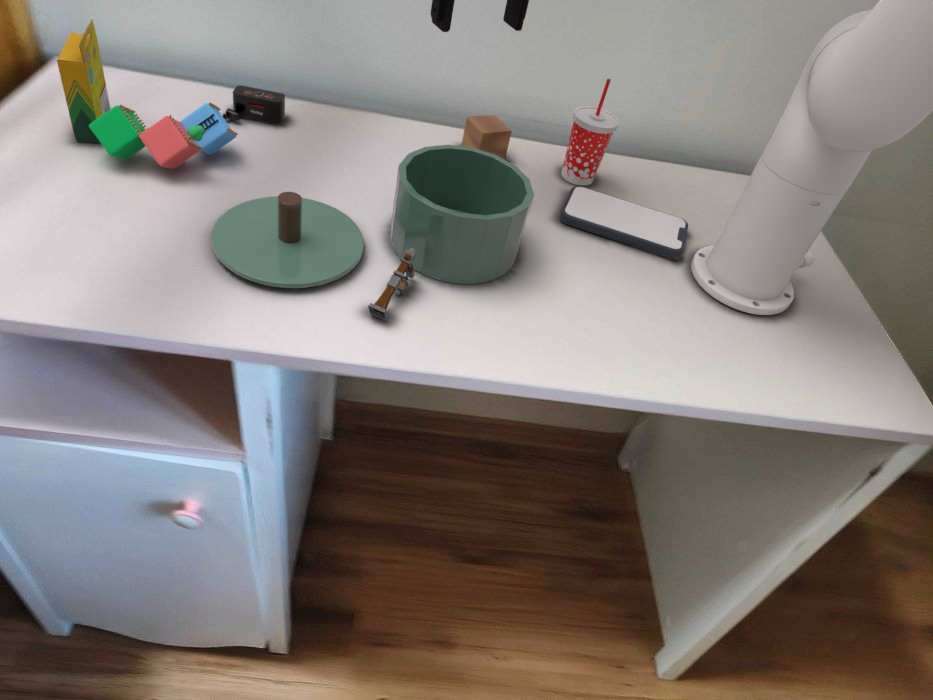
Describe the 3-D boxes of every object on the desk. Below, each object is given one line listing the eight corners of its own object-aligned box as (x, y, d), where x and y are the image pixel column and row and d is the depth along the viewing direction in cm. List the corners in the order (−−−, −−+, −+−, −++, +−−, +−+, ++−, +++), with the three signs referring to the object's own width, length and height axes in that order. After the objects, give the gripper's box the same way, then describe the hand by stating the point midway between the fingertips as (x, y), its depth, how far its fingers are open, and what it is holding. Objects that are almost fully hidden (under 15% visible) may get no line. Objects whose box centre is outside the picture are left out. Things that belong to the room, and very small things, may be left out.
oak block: (488, 144, 99) (495, 114, 96) (504, 161, 96) (512, 130, 93) (460, 147, 97) (466, 116, 94) (476, 164, 94) (482, 133, 91)
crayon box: (86, 112, 86) (66, 14, 78) (112, 114, 86) (95, 18, 79) (73, 142, 81) (51, 41, 73) (101, 144, 81) (82, 44, 73)
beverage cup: (590, 193, 94) (625, 95, 85) (549, 177, 96) (579, 78, 86) (603, 176, 99) (637, 80, 89) (564, 160, 100) (593, 64, 90)
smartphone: (555, 224, 88) (678, 264, 86) (559, 213, 87) (683, 253, 84) (570, 193, 94) (685, 229, 92) (573, 182, 93) (690, 219, 91)
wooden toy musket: (423, 270, 74) (421, 247, 70) (388, 331, 71) (384, 311, 67) (408, 264, 74) (405, 241, 70) (372, 325, 71) (367, 304, 67)
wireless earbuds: (232, 106, 93) (231, 83, 91) (285, 117, 94) (285, 94, 92) (222, 122, 90) (220, 98, 88) (277, 132, 91) (277, 109, 88)
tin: (477, 201, 88) (491, 140, 82) (538, 272, 79) (558, 209, 73) (370, 216, 81) (377, 150, 75) (424, 294, 73) (436, 227, 67)
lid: (333, 198, 82) (335, 152, 78) (385, 278, 73) (391, 231, 69) (196, 214, 75) (191, 165, 71) (235, 305, 66) (232, 255, 62)
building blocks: (159, 192, 85) (239, 136, 84) (130, 186, 77) (218, 124, 76) (119, 136, 84) (199, 79, 83) (85, 124, 75) (174, 61, 75)
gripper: (451, -153, 62) (425, 42, 73) (600, -135, 70) (555, 38, 81) (414, -173, 66) (394, 14, 78) (558, -153, 74) (521, 13, 86)
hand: (477, 26), depth 79 cm, fingers open, 9 cm apart
